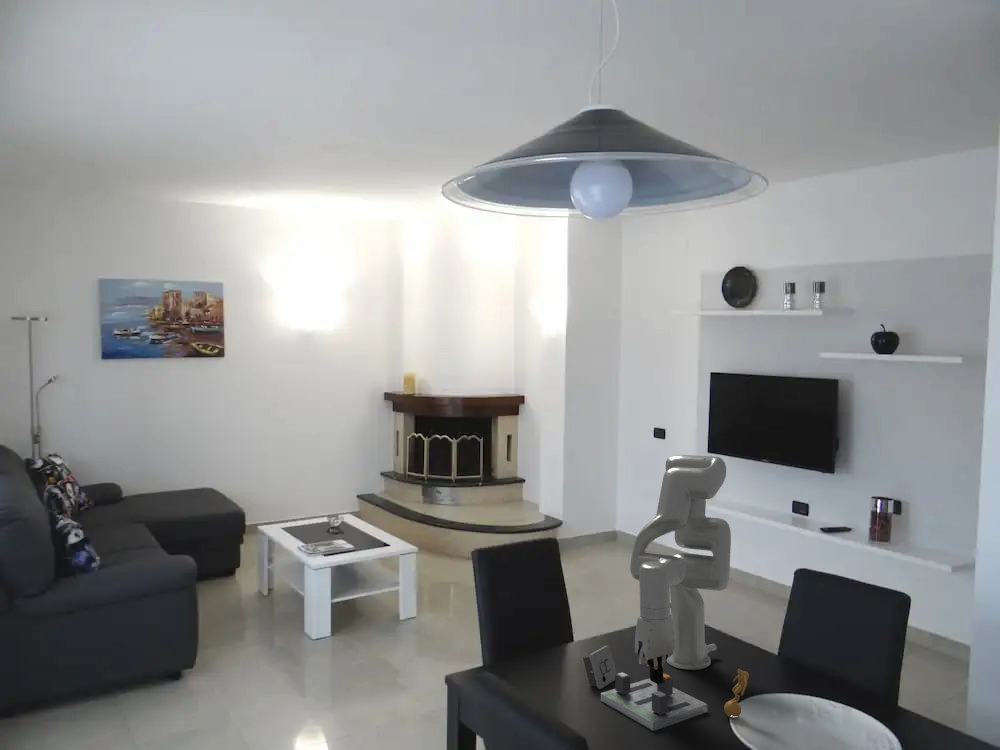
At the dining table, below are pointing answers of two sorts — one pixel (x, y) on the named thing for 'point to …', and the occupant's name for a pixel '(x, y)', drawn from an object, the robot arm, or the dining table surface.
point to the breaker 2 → (659, 702)
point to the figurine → (732, 705)
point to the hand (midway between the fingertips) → (656, 681)
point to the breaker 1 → (622, 683)
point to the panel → (640, 705)
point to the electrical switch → (600, 667)
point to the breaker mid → (666, 685)
